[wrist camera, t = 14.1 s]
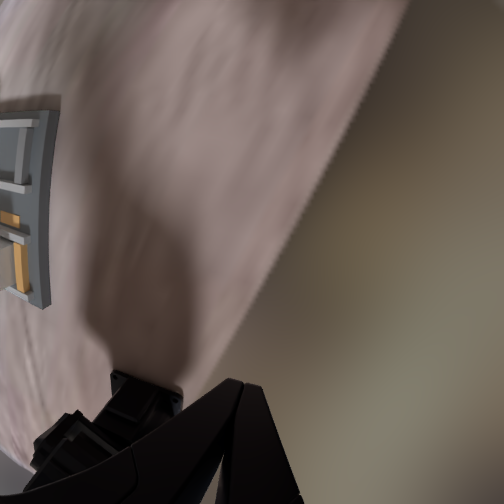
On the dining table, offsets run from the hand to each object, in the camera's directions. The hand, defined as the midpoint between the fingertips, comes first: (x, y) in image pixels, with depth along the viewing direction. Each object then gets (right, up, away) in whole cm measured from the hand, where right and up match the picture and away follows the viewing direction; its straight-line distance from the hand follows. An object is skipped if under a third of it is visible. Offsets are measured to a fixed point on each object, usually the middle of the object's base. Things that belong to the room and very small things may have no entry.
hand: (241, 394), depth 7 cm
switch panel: (-23, +8, +14) cm, 29 cm away
